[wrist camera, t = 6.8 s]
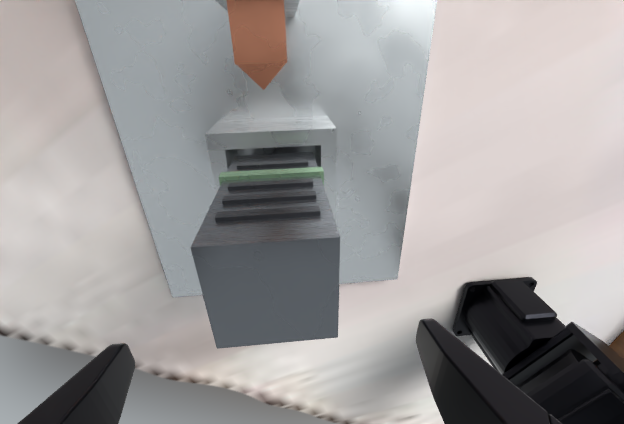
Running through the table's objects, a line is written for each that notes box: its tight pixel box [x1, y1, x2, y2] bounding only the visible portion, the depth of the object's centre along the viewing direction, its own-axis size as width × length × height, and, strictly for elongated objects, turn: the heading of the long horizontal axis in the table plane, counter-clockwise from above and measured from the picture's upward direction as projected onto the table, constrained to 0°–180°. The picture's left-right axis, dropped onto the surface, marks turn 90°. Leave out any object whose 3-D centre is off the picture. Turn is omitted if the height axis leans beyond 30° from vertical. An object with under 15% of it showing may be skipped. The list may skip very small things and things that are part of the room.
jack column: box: [190, 152, 340, 348], centre depth 12 cm, size 4×4×8 cm
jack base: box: [75, 0, 437, 297], centre depth 16 cm, size 20×18×9 cm
